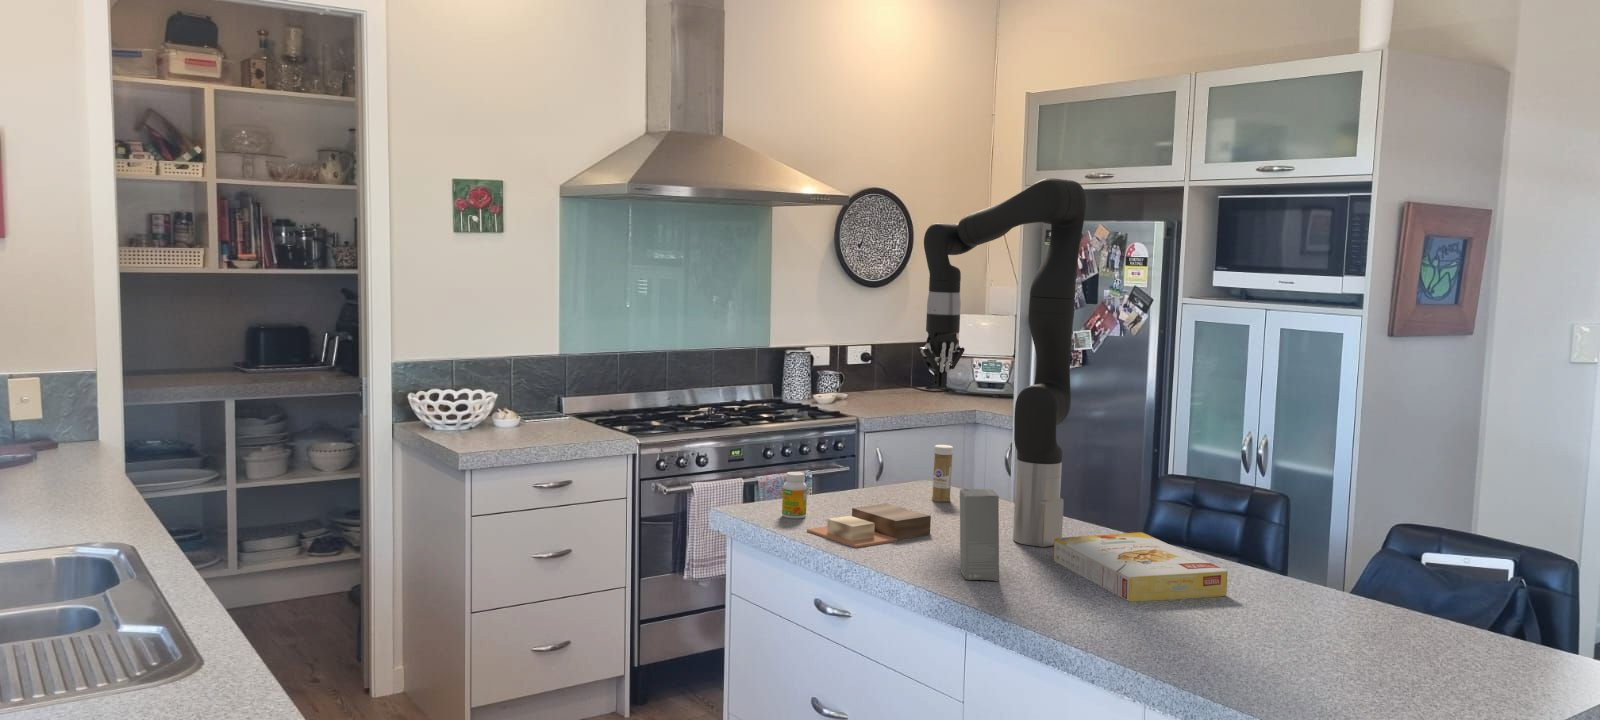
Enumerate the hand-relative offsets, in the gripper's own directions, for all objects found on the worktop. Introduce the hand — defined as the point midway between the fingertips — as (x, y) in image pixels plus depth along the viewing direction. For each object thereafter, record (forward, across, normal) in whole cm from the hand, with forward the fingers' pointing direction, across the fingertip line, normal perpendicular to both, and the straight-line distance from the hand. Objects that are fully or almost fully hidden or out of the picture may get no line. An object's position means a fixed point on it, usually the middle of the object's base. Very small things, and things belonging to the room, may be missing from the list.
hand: (940, 388), depth 268 cm
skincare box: (+29, -30, -42) cm, 59 cm away
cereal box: (+30, -5, -59) cm, 66 cm away
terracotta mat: (+29, -31, -7) cm, 43 cm away
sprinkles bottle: (+29, +12, +10) cm, 33 cm away
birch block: (+27, -32, -8) cm, 42 cm away
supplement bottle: (+29, -30, +14) cm, 44 cm away
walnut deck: (+29, -20, -7) cm, 36 cm away
